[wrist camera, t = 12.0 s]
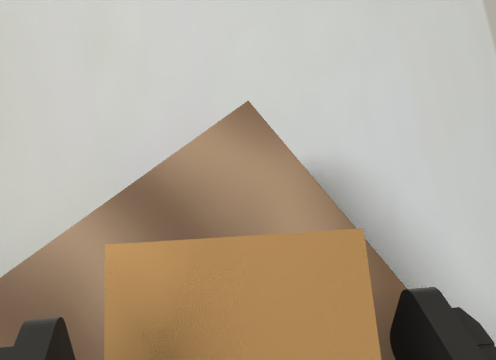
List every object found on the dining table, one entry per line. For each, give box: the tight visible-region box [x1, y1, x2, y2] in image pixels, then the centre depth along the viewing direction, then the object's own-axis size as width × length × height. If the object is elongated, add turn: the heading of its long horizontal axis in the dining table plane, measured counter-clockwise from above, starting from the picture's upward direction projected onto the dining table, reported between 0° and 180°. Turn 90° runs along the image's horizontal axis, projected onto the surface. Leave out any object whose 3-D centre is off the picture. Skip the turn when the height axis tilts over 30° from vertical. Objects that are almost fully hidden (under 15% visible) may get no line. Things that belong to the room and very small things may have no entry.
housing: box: [104, 229, 381, 360], centre depth 13 cm, size 5×5×10 cm
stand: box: [0, 101, 407, 360], centre depth 20 cm, size 14×14×5 cm
